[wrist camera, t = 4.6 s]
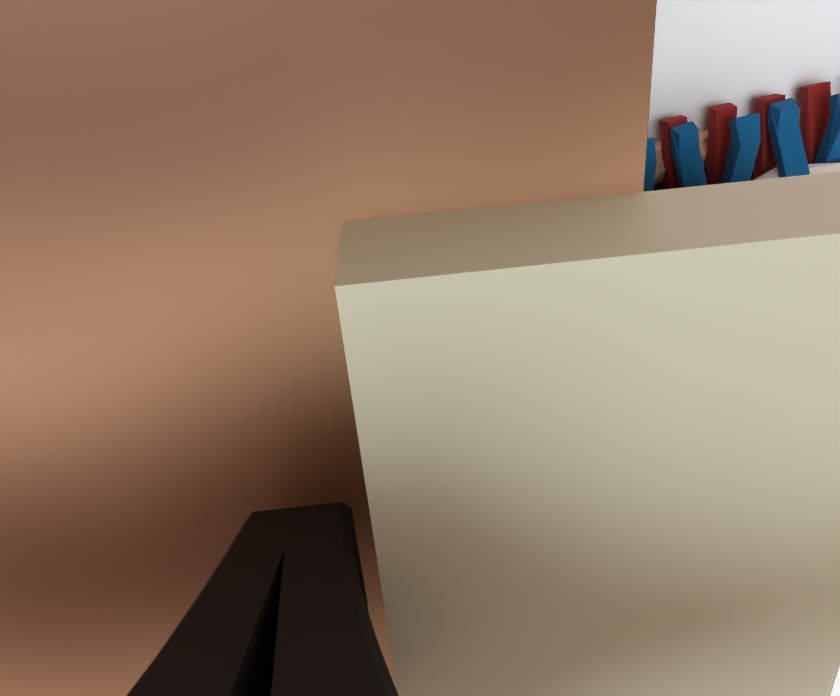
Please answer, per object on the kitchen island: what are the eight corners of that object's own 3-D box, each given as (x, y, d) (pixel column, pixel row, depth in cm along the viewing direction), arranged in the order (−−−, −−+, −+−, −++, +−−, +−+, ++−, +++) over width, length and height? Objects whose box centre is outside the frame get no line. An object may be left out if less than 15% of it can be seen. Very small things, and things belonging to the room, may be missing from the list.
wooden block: (552, 731, 19) (593, 896, 16) (-11, 796, 19) (-100, 980, 15) (566, -503, 8) (720, -901, 5) (-797, -391, 8) (-1774, -722, 4)
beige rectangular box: (740, 669, 12) (803, 782, 10) (411, 707, 12) (419, 829, 10) (841, 171, 8) (975, 218, 6) (341, 222, 8) (334, 286, 6)
